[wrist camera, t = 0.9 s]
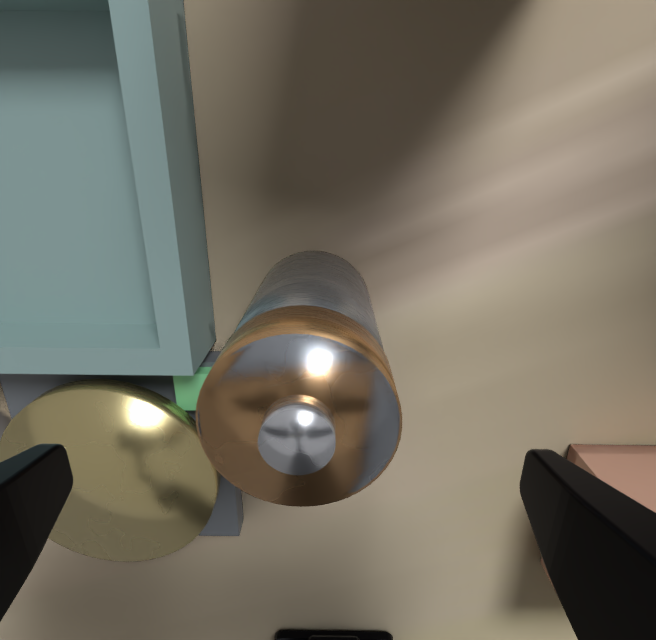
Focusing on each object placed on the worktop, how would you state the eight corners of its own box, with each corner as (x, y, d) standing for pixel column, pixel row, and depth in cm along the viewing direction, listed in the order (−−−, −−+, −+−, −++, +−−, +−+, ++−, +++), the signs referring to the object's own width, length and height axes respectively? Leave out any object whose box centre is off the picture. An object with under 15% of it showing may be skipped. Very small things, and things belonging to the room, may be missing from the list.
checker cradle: (243, 518, 21) (236, 546, 19) (60, 516, 21) (38, 544, 19) (229, 351, 17) (219, 369, 16) (11, 349, 18) (-19, 367, 16)
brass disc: (228, 546, 19) (223, 563, 18) (40, 544, 19) (27, 560, 18) (210, 380, 16) (204, 391, 15) (-13, 377, 16) (-31, 388, 15)
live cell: (368, 358, 18) (399, 528, 9) (259, 356, 18) (198, 525, 10) (373, 250, 16) (415, 344, 8) (253, 249, 16) (173, 342, 8)
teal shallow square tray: (216, 340, 17) (193, 375, 14) (-77, 337, 17) (-156, 371, 15) (181, -20, 13) (139, -68, 10) (-208, -21, 13) (-356, -70, 10)
